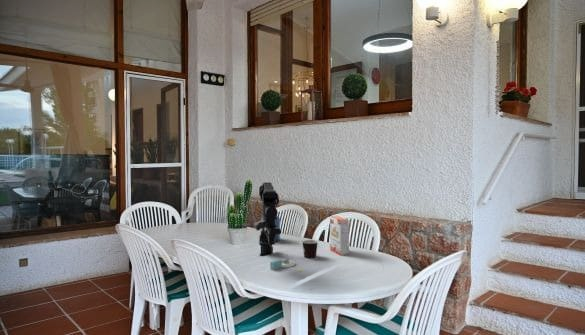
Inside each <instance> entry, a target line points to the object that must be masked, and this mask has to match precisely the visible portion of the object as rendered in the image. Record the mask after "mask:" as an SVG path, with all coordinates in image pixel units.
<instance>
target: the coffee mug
mask: <svg viewBox="0 0 585 335" xmlns="http://www.w3.org/2000/svg"><path fill="white" fill-rule="evenodd" d="M318 243H319V242H318V240H315V239H304V240H303V241H302V250H303V257H304V258H305V259H316V257H317V250H318Z"/></svg>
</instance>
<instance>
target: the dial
mask: <svg viewBox="0 0 585 335" xmlns="http://www.w3.org/2000/svg"><path fill="white" fill-rule="evenodd" d="M269 265H270V266H269V269H270V271H275V270H278V269H280V268H293V267H295V266H296V262H295V261H294V260H290V259H289V258H282V259H281V258H278V259H275V260H271V261H270V263H269Z"/></svg>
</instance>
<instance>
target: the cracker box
mask: <svg viewBox="0 0 585 335" xmlns="http://www.w3.org/2000/svg"><path fill="white" fill-rule="evenodd" d="M349 221H350V220H349V219H346V218H344V217H341V216H338V215H335V216H334V215H333V216H329V232H330V233H329V243H330V244H329V248H330V251H332V252H334V253H336V254H338V255H339V256H347V255H350V242H349V241H350V237H349V236H350V231H349V230H350V228H349V227H350V226H349V225H350V222H349Z"/></svg>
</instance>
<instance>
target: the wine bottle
mask: <svg viewBox="0 0 585 335" xmlns="http://www.w3.org/2000/svg"><path fill="white" fill-rule="evenodd" d="M276 217H277V219H276V225H277V227H278V228H279V229H280V230H281V218H280V215H279V216H278V215H277V216H276ZM261 220H263V216H262V217H261V218H260V221H261ZM260 230H262V229H260ZM280 240H281V234H276V236H275V242H279V241H280Z"/></svg>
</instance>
